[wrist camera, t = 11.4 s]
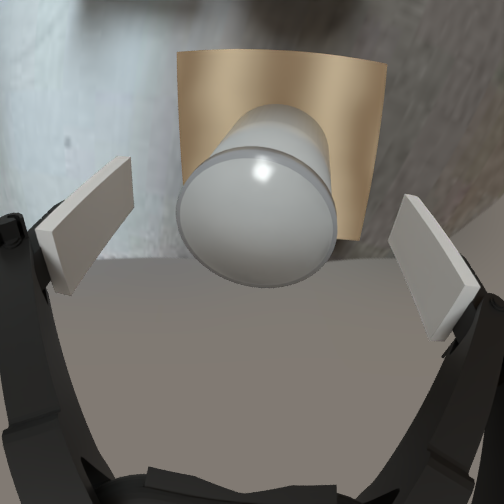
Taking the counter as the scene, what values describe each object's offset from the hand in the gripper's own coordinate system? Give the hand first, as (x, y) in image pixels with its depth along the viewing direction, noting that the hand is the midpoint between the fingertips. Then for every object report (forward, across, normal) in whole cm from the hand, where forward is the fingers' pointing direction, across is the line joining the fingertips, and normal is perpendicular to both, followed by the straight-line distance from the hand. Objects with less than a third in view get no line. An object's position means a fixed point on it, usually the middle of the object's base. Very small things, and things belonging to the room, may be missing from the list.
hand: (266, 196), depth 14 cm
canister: (+8, +1, 0) cm, 8 cm away
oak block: (+13, +1, 0) cm, 13 cm away
